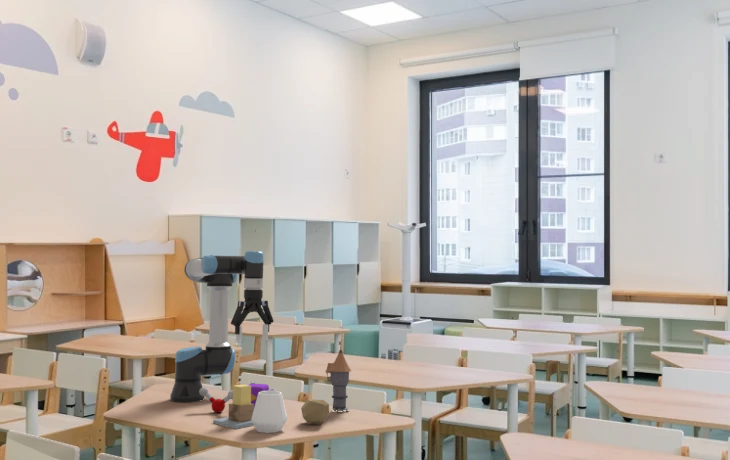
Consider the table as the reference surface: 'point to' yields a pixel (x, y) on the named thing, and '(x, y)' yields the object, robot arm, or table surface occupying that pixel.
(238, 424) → the plate
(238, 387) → the mustard block
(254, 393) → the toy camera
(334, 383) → the model tower
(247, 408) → the walnut block
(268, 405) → the white faceted vase
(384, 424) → the table surface
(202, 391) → the molecular model
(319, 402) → the low-poly potato
